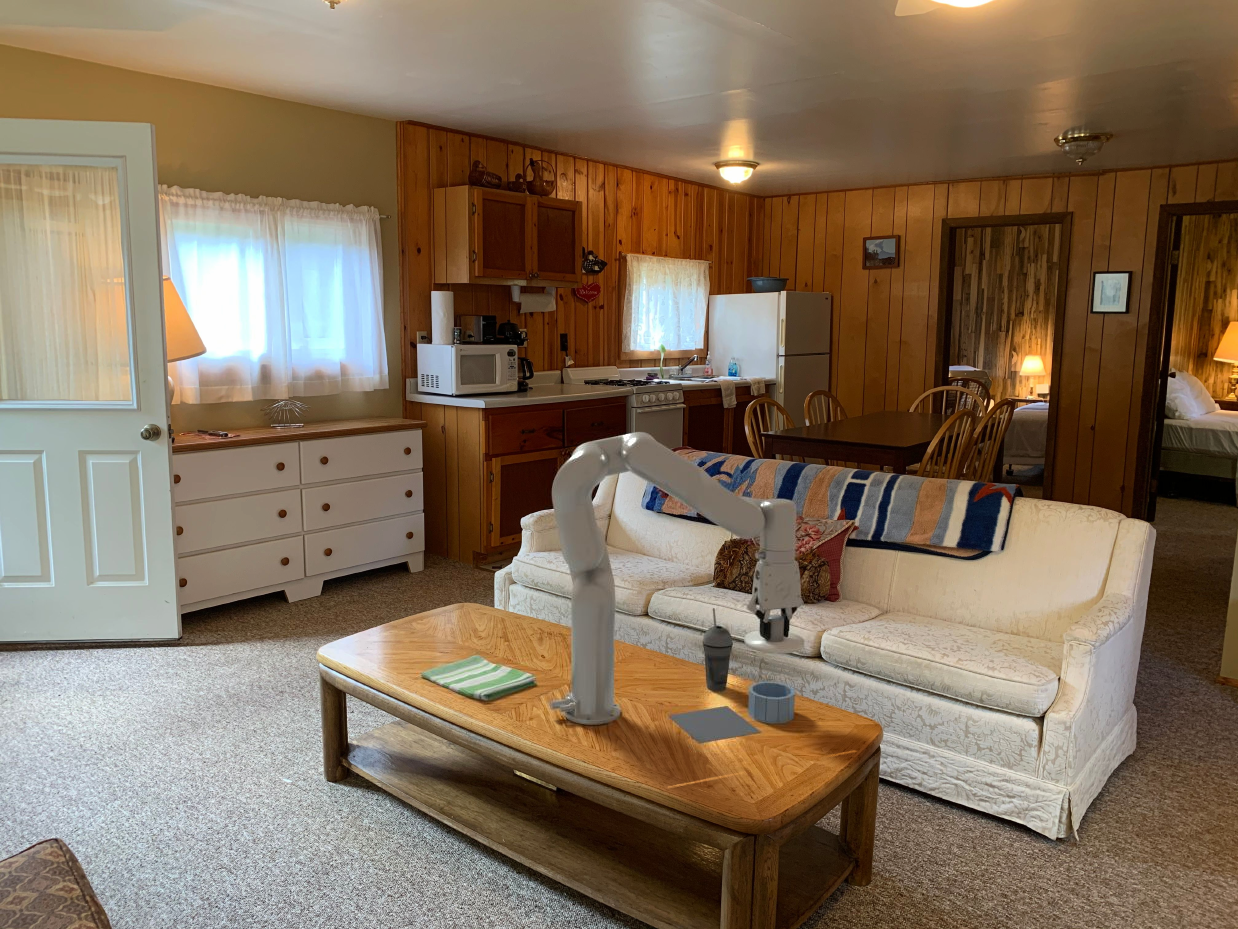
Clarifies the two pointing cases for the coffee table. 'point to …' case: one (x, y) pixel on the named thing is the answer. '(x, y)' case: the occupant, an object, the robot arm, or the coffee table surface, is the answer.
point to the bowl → (771, 702)
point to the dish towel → (479, 678)
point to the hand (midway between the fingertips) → (774, 635)
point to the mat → (713, 724)
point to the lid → (775, 639)
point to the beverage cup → (717, 656)
